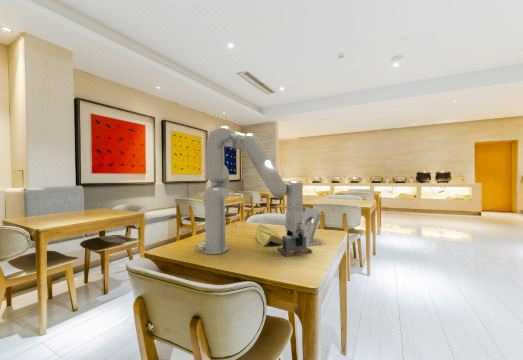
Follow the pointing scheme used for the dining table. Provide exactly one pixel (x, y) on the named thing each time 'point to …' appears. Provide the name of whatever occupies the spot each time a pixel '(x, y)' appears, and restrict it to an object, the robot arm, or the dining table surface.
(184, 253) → the dining table surface
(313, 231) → the phone holder
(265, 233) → the yellow-green folded towel
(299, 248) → the block
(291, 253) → the brown peg board
